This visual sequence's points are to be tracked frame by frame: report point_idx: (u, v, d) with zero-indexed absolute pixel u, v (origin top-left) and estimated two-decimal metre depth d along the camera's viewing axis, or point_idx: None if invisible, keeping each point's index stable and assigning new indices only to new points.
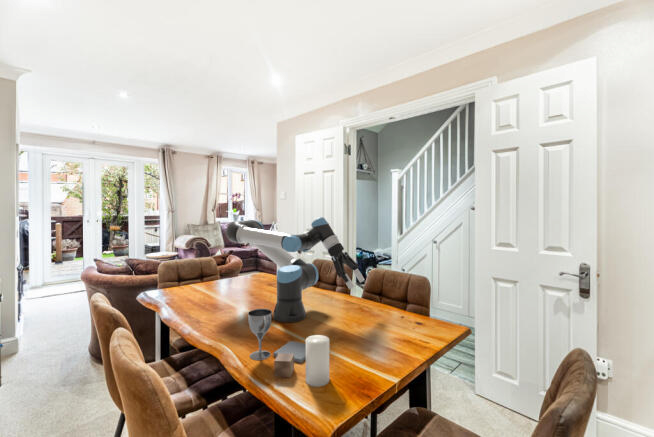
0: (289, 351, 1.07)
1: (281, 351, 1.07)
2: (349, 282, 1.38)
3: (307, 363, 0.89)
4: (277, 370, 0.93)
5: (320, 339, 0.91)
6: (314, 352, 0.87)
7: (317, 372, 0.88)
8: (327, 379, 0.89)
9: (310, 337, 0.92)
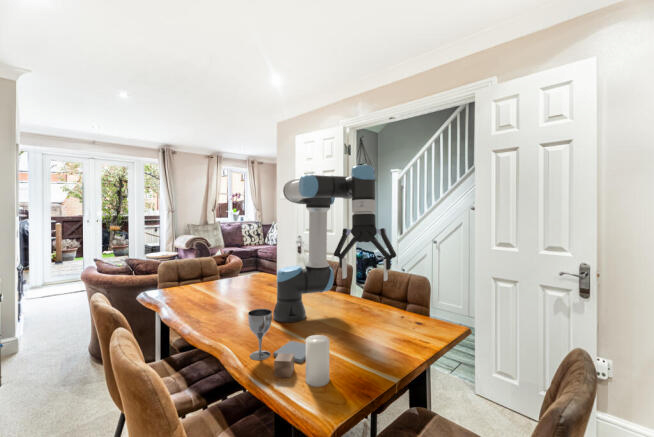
0: (289, 351, 1.07)
1: (281, 351, 1.07)
2: None
3: (307, 363, 0.89)
4: (277, 370, 0.93)
5: (320, 339, 0.91)
6: (314, 352, 0.87)
7: (317, 372, 0.88)
8: (327, 379, 0.89)
9: (310, 337, 0.92)
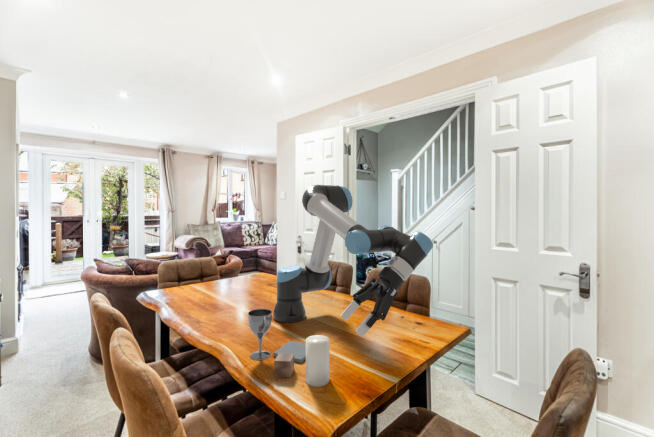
0: (289, 351, 1.07)
1: (281, 351, 1.07)
2: None
3: (307, 363, 0.89)
4: (277, 370, 0.93)
5: (320, 339, 0.91)
6: (314, 352, 0.87)
7: (317, 372, 0.88)
8: (327, 379, 0.89)
9: (310, 337, 0.92)
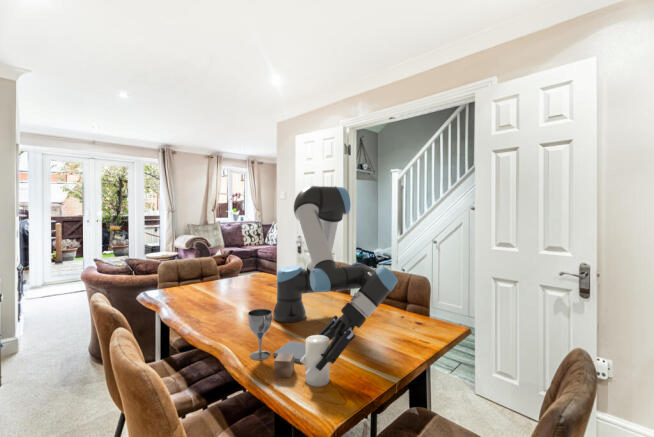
0: (289, 351, 1.07)
1: (281, 351, 1.07)
2: None
3: (307, 363, 0.89)
4: (277, 370, 0.93)
5: (320, 338, 0.91)
6: (314, 352, 0.87)
7: None
8: (327, 379, 0.89)
9: (310, 337, 0.92)
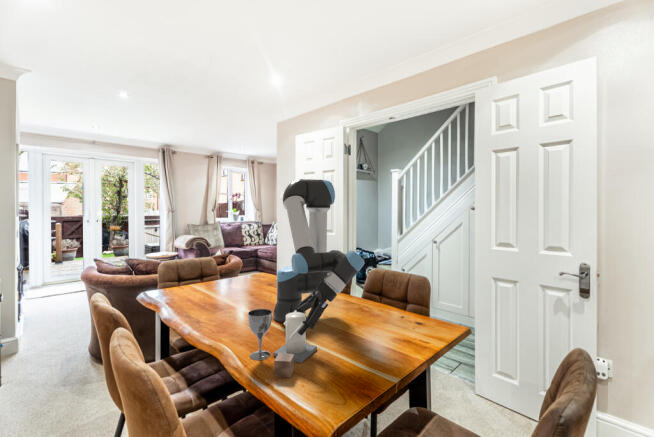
0: None
1: (281, 351, 1.07)
2: None
3: (286, 334, 1.06)
4: (277, 370, 0.93)
5: (298, 314, 1.09)
6: (292, 325, 1.05)
7: None
8: (303, 348, 1.07)
9: (290, 313, 1.10)
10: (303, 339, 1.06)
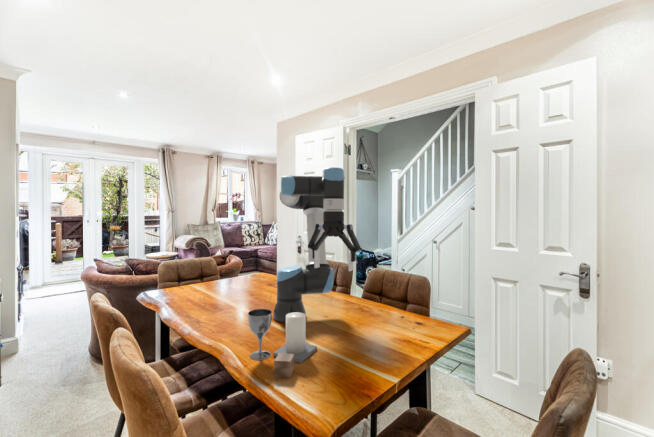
0: None
1: (281, 351, 1.07)
2: None
3: (286, 334, 1.06)
4: (277, 370, 0.93)
5: (298, 315, 1.09)
6: (292, 325, 1.05)
7: (295, 342, 1.05)
8: (303, 348, 1.07)
9: (290, 313, 1.10)
10: (303, 339, 1.06)
